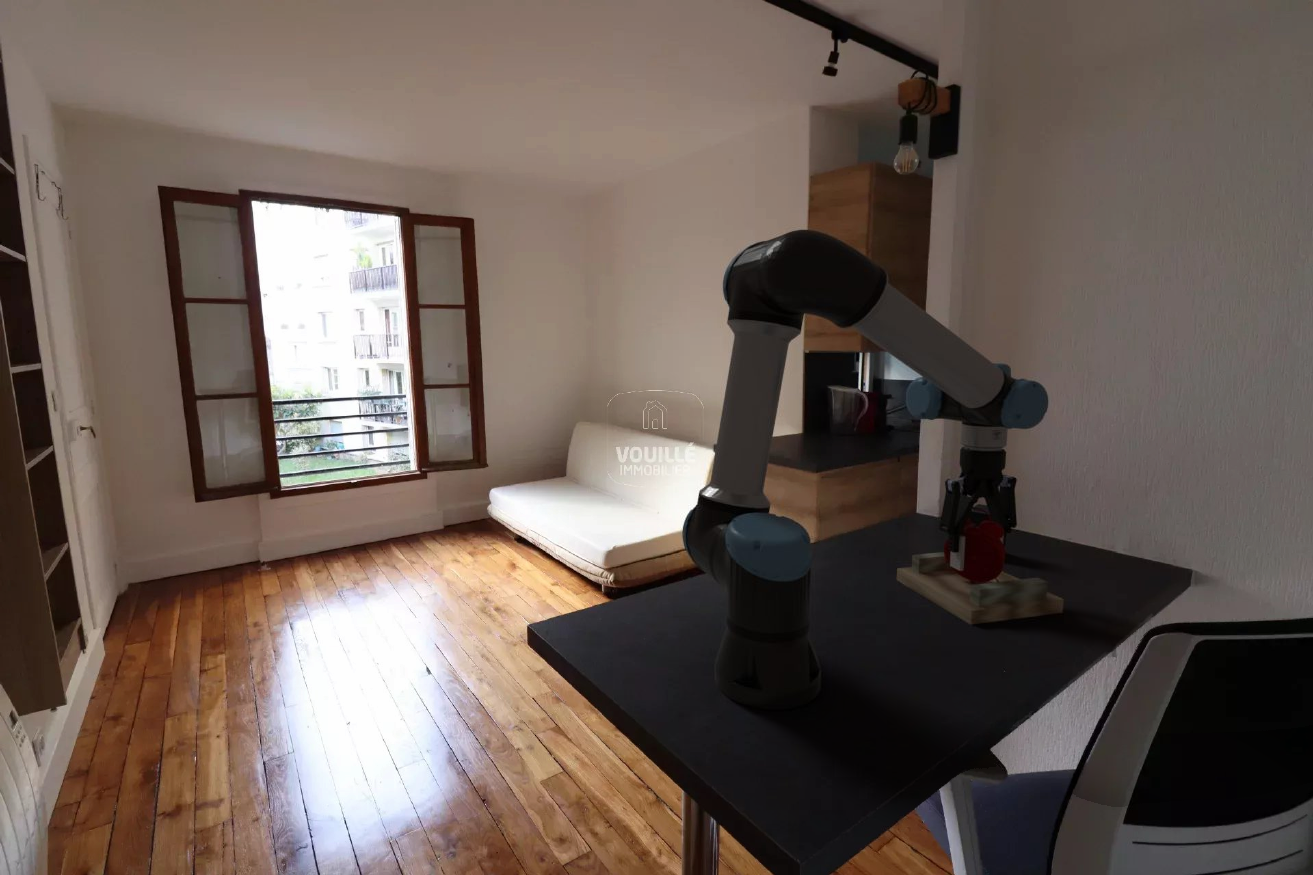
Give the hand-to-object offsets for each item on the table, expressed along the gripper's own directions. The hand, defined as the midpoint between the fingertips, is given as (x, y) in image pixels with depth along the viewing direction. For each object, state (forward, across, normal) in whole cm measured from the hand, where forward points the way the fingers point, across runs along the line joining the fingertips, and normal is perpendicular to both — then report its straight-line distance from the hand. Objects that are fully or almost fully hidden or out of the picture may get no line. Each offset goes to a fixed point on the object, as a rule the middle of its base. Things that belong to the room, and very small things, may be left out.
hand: (975, 565), depth 116 cm
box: (+6, +19, +20) cm, 28 cm away
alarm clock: (+3, 0, 0) cm, 3 cm away
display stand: (+6, 0, 0) cm, 6 cm away
